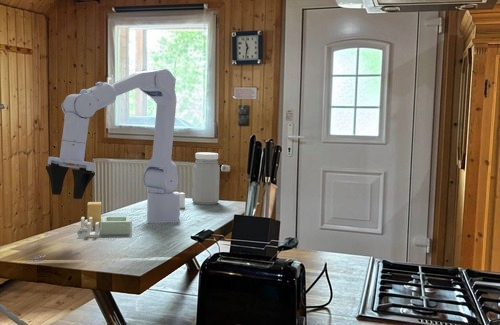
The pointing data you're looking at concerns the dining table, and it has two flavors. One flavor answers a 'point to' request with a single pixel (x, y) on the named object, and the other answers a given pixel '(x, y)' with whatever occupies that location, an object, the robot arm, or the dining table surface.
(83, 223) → the cable clip
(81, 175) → the robot arm
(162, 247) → the dining table surface
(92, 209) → the connector plug
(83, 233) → the mat
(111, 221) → the end holder
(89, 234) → the cable clip
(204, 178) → the jar
